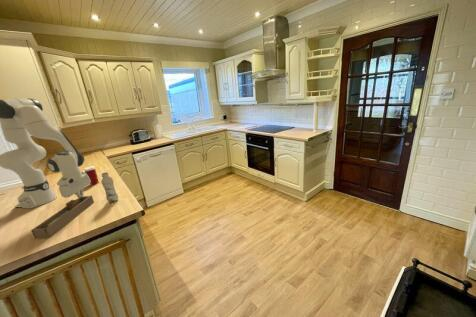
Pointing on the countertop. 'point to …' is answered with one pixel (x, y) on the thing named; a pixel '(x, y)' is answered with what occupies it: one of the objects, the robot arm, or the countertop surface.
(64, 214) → the long grey tray
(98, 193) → the countertop surface
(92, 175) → the paper cup
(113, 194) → the plastic bottle
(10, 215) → the countertop surface
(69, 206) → the block
